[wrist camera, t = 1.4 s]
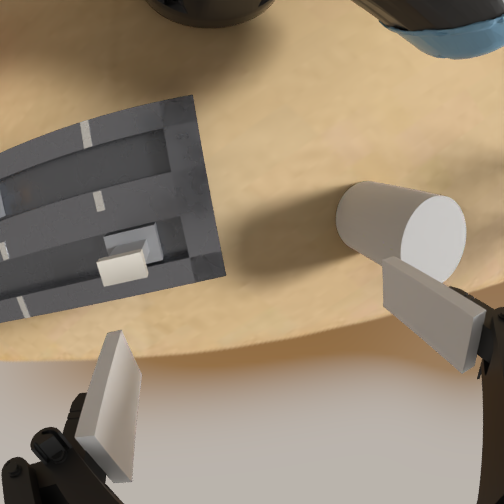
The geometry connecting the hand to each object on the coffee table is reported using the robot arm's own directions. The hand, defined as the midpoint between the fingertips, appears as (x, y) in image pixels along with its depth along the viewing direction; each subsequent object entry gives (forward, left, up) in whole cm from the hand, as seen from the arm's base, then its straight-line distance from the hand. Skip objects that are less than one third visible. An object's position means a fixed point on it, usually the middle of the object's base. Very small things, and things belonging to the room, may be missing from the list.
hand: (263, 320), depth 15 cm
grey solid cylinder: (+2, +17, -19) cm, 25 cm away
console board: (-5, -16, -19) cm, 25 cm away
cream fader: (-1, -8, -17) cm, 19 cm away
